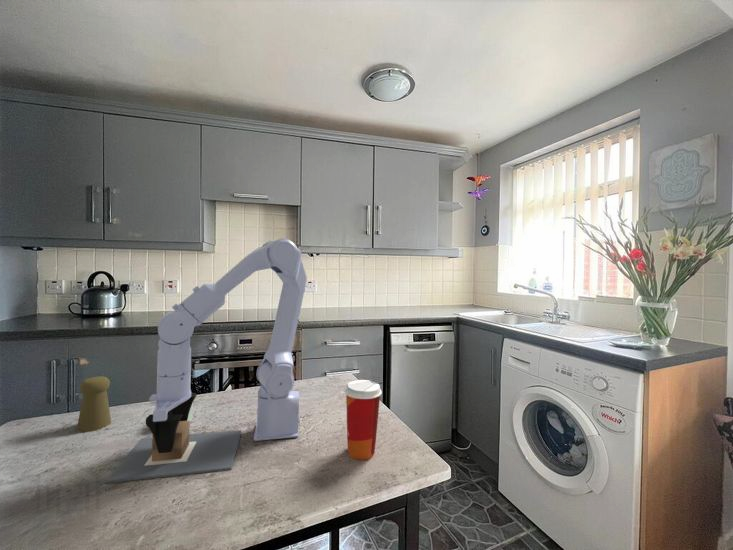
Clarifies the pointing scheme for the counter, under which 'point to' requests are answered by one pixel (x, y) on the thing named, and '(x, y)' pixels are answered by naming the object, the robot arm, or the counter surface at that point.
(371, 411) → the paper cup
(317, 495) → the counter surface
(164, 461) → the mat
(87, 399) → the cork
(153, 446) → the walnut block
